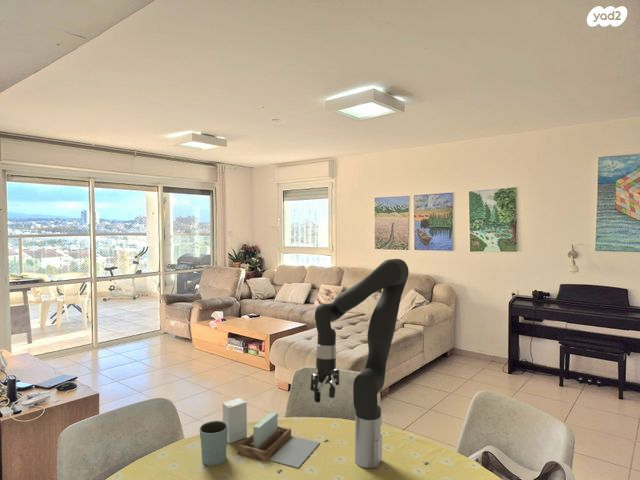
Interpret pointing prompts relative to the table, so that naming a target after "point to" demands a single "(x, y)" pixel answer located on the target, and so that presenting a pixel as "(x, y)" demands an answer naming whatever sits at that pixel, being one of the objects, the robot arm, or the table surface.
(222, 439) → the grey-green cup
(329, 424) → the table surface
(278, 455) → the grey mat
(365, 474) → the table surface
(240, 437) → the skincare box
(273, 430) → the cover plate
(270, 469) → the table surface
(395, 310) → the robot arm
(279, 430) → the walnut box
